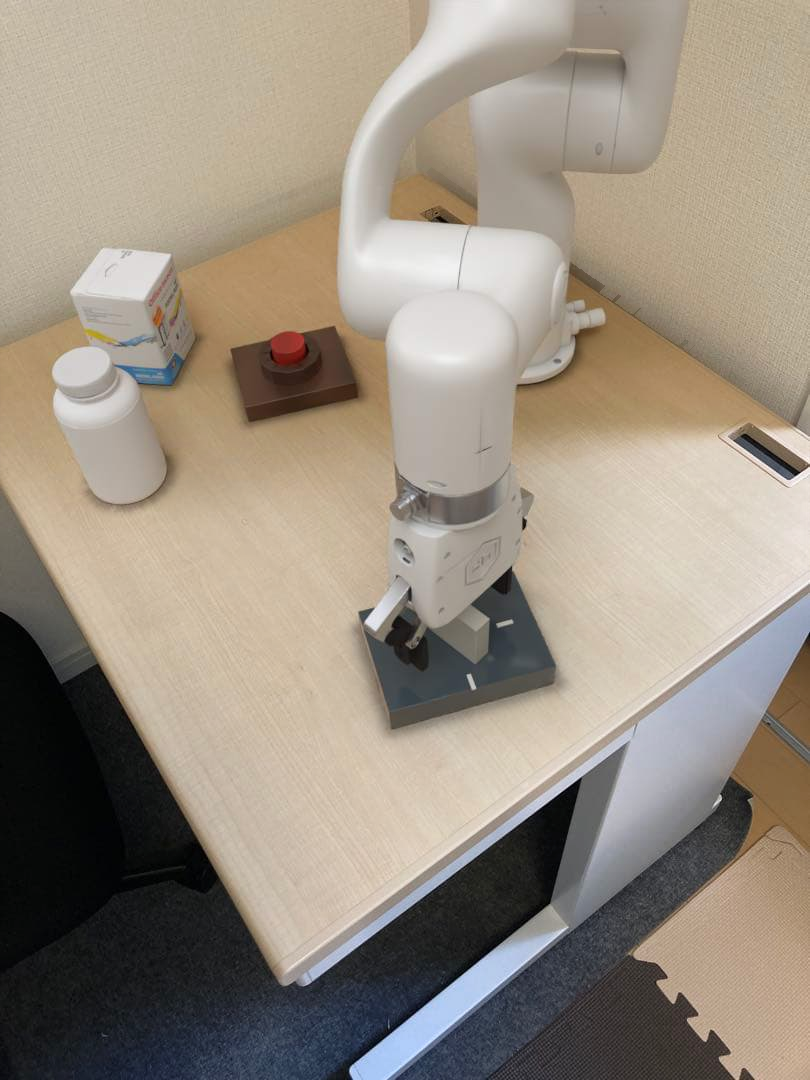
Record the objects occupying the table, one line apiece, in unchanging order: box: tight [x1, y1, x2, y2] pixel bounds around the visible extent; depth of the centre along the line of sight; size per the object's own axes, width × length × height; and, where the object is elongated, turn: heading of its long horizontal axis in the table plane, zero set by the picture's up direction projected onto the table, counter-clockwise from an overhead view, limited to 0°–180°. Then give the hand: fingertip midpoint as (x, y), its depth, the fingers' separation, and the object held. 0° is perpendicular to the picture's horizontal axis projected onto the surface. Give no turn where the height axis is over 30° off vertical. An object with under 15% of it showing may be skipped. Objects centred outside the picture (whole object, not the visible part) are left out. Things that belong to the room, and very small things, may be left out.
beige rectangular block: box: [428, 605, 490, 664], centre depth 73 cm, size 6×2×5 cm, turn 46°
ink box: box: [69, 247, 196, 386], centre depth 99 cm, size 9×8×12 cm
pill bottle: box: [51, 346, 168, 505], centre depth 87 cm, size 8×8×15 cm
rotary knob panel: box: [357, 570, 557, 731], centre depth 76 cm, size 14×10×3 cm
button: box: [271, 330, 306, 365], centre depth 97 cm, size 4×4×2 cm
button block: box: [230, 325, 359, 423], centre depth 99 cm, size 12×10×4 cm
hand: (453, 620), depth 73 cm, fingers open, 9 cm apart
